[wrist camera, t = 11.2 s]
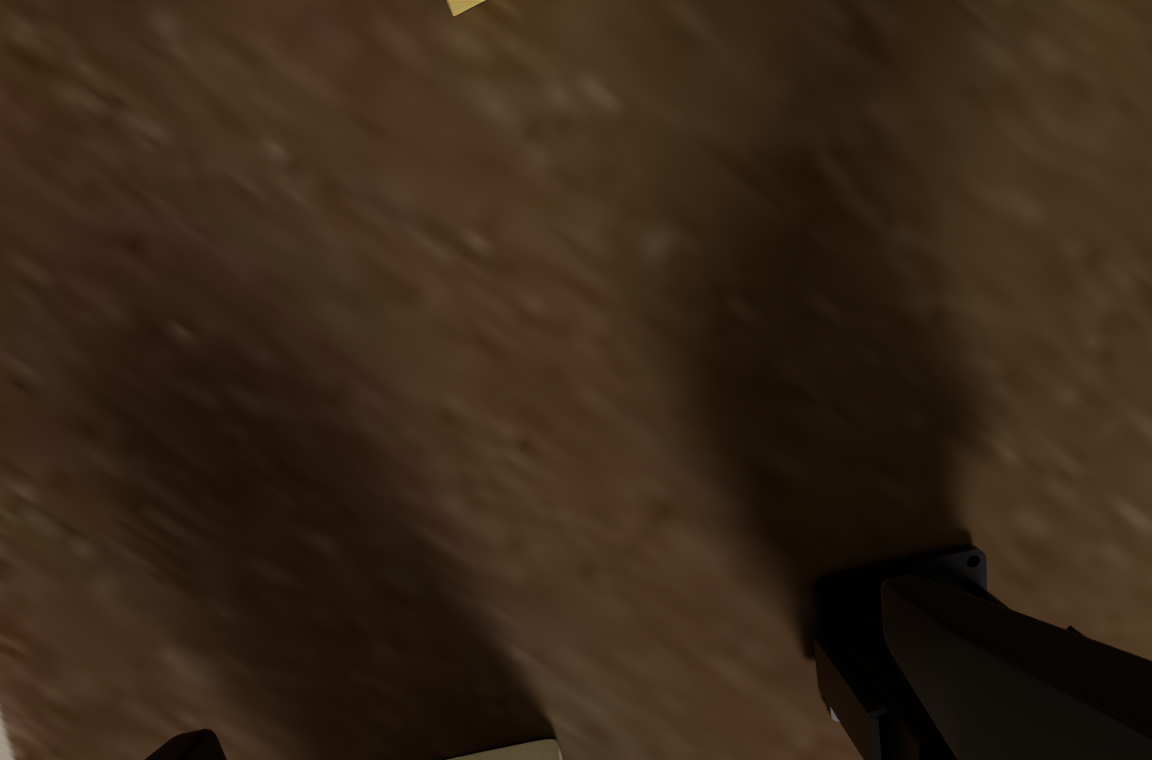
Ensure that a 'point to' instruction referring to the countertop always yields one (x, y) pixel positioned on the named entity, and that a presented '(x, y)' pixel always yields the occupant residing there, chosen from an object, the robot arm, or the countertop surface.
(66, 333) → the countertop surface
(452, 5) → the pad
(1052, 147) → the countertop surface
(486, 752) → the tall cream block
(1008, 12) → the countertop surface
